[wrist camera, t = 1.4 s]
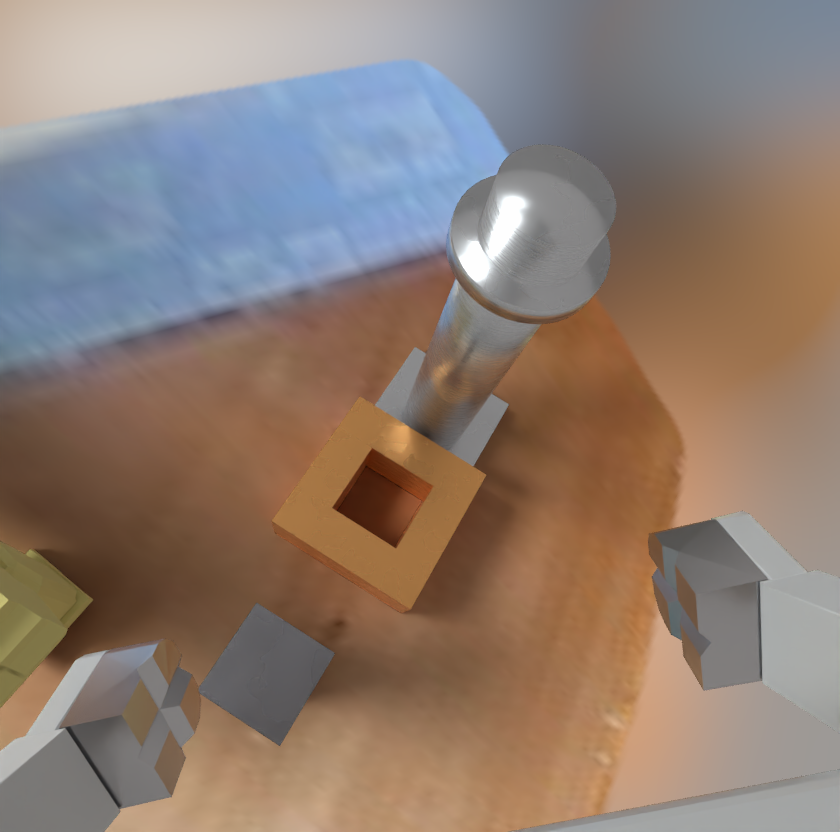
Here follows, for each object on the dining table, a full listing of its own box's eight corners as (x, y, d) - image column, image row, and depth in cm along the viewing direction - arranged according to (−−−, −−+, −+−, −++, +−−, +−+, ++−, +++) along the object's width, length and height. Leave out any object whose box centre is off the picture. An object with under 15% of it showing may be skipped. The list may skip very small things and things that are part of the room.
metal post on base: (400, 613, 38) (525, 564, 16) (274, 533, 39) (230, 379, 17) (513, 414, 45) (713, 186, 23) (404, 347, 45) (495, 59, 23)
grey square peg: (288, 715, 35) (279, 745, 24) (231, 678, 35) (196, 691, 24) (327, 652, 37) (335, 653, 26) (272, 616, 37) (256, 602, 26)
